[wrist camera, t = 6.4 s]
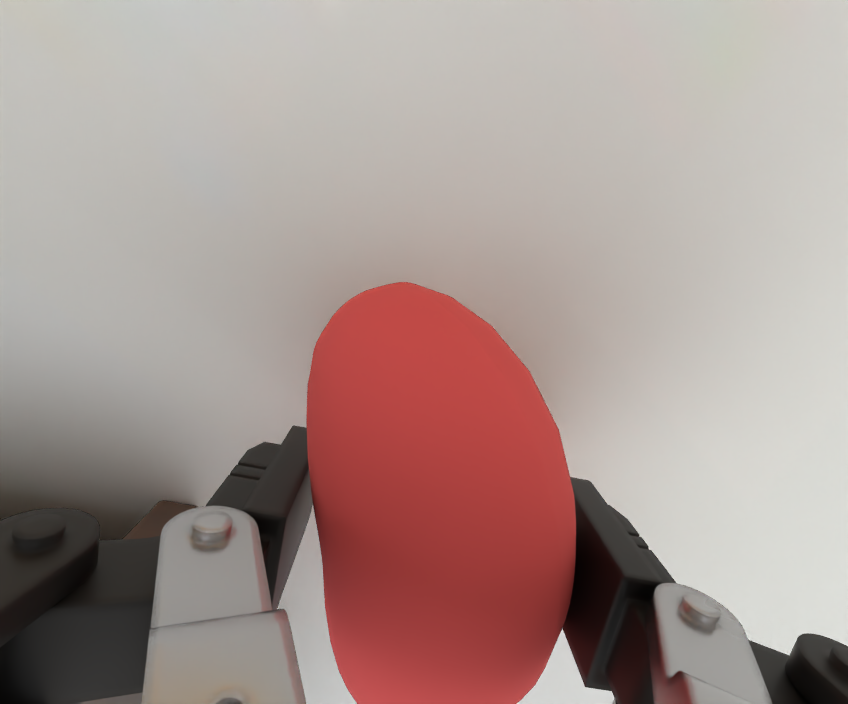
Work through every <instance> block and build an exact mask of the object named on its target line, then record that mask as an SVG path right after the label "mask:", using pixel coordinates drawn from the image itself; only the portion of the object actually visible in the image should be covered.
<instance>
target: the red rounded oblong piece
mask: <svg viewBox="0 0 848 704" xmlns="http://www.w3.org/2000/svg"><path fill="white" fill-rule="evenodd" d="M307 450H308V465H309V475H310V484H311V494H312V500H313V506H314V512H315V518H316V524H317V530H318V535H319V541H320V547H321V554H322V563H323V578H324V597H325V609H326V615H327V622H328V628H329V635H330V641H331V645H332V649H333V652H334V655H335V659H336V662H337V666H338V669H339V672H340V674H341V676H342V678H343V681H344V683H345V685H346V687H347V689H348V691H349V692H350V693H351V695H352V696H353V698H354V699H355V701H356V702H357V704H516V703H518V702H519V701H520V700H521V699H522V698H523V697H524V696H525V695H526V694H527V693H528V692H529V691H530V690H531V689H532V688H533V687H534V686H535V684H536V683H537V681H538V679H539V677H540V676H541V674H542V672H543V670H544V669H545V667H546V664H547V662H548V660H549V657H550V655H551V653H552V650H553V648H554V646H555V643H556V641H557V639H558V636H559V634H560V632H561V630H562V627H563V625H564V622H565V619H566V616H567V612H568V609H569V605H570V600H571V595H572V589H573V583H574V573H575V559H576V513H575V500H574V492H573V488H572V484H571V480H570V475H569V471H568V467H567V463H566V459H565V454H564V450H563V446H562V442H561V437H560V433H559V429H558V427H557V425H556V423H555V421H554V419H553V417H552V415H551V413H550V411H549V409H548V407H547V405H546V404H545V402H544V400H543V398H542V396H541V394H540V392H539V390H538V388H537V386H536V384H535V382H534V380H533V378H532V376H531V374H530V372H529V370H528V369H527V368H526V367H525V365H524V364H523V363H522V362H521V361H520V359H519V358H518V357H517V356H516V355H515V353H514V352H513V351H512V350H511V349H510V347H509V346H508V345H507V344H506V343H505V341H504V340H503V339H502V338H501V337H500V335H499V334H498V333H497V332H496V331H495V329H494V328H493V327H492V326H491V325H490V324H488V323H487V322H485V321H484V320H483V319H481V318H480V317H478V316H477V315H476V314H474V313H473V312H472V311H470V310H469V309H467V308H466V307H465V306H463V305H462V304H460V303H459V302H458V301H456V300H455V299H454V298H452V297H450V296H447V295H445V294H442V293H439V292H436V291H433V290H430V289H427V288H425V287H422V286H419V285H416V284H413V283H408V282H398V283H393V284H388V285H384V286H380V287H376V288H372V289H369V290H366V291H364V292H362V293H360V294H358V295H356V296H355V297H353V298H351V299H350V300H349V301H347V302H346V303H345V304H344V305H343V306H342V307H340V308H339V309H338V310H337V312H336V313H335V314H334V315H333V316H332V318H331V319H330V321H329V322H328V324H327V325H326V327H325V329H324V330H323V332H322V333H321V335H320V337H319V339H318V341H317V342H316V345H315V348H314V352H313V358H312V365H311V371H310V376H309V381H308V392H307Z"/></svg>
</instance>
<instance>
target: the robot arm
mask: <svg viewBox="0 0 848 704" xmlns="http://www.w3.org/2000/svg"><path fill="white" fill-rule="evenodd" d="M570 480H571V484H572V488H573V492H574V500H575V513H576V559H575V573H574V583H573V589H572V595H571V600H570V605H569V609H568V612H567V616H566V619H565V622H564V625H563V627H562V628H563V630H564V633H565V636H566V638H567V641H568V643H569V646H570V649H571V651H572V654H573V656H574V659H575V662H576V664H577V667H578V669H579V672H580V674H581V677H582V680H583V682H584V685H585V687H588V688H595V689H602V690H608V691H612V692H613V695H614V697H615V698H614V701H613V703H612V704H848V646H846V645H844V644H842V643H839V642H837V641H835V640H832V639H830V638H827V637H824V636H821V635H816V634H802V635H800V636H799V637H798V638H797V641H796V643H795V645H794V647H793V649H792V651H791V653H790V656H789V655H786V654H784V653H781V652H778V651H776V650H773V649H771V648H768V647H765V646H763V645H760V644H757V643H755V642H752V641H750V640H748V638H747V636H746V633H745V631H744V629H743V627H742V625H741V624H740V622H739V621H738V620H737V618H736V617H735V616H734V615H733V614H732V613H731V612H730V611H729V610H728V609H726V608H725V607H724V606H723V605H721V604H720V603H718V602H717V601H716V600H714V599H713V598H711V597H709V596H708V595H706V594H704V593H702V592H700V591H698V590H695V589H693V588H691V587H688V586H685V585H681V584H677V583H676V582H675V581H674V579H673V578H672V577H671V575H670V574H669V573H668V572H667V570H666V569H665V568H664V566H663V565H662V564H661V562H660V561H659V560H658V558H657V557H656V556H655V555H654V553H653V552H652V551H651V550H649V549H648V545H647V544H646V543H645V541H644V540H643V539H642V538H641V537H639V534H638V532H637V531H636V530H635V528H634V527H633V526H632V524H631V523H630V522H629V521H628V519H626V518H625V517H624V516H623V515H621V514H620V513H619V512H618V511H616V510H615V509H614V508H612V507H611V506H610V505H607V503H606V502H605V501H604V499H603V498H602V496H601V495H600V494H599V492H598V491H597V490H596V488H595V487H594V485H593V484H592V483H591V482H590V481H588V480H583V479H577V478H572V477H570ZM312 505H313V500H312V494H311V484H310V475H309V465H308V450H307V428H305V427H299V426H294V425H293V426H292V428H291V429H290V431H289V433H288V434H287V436H286V438H285V439H284V441H283V442H282V444H281V445H279V444H273V443H268V442H263V443H261V444H259V445H257V446H255V447H253V448H251V449H249V450H247V452H246V453H245V454H244V456H243V457H242V458H241V460H240V461H239V462H238V465H236V466H235V467H234V469H233V470H232V471H231V473H230V475H228V477H227V478H226V479H225V481H224V482H223V483H222V485H221V486H220V487H219V489H218V490H217V491H216V492H215V494H214V495H213V496H212V498H211V499H210V500H209V502H208V503H207V504H206V506H204V507H198V508H193V509H190V510H187V511H184V512H182V513H180V514H178V515H176V516H174V517H173V518H172V519H170V520H169V521H168V522H167V523H166V524H165V526H164V527H163V529H162V532H161V535H160V536H156V537H150V538H140V539H121V540H99V538H100V525H99V523H98V521H97V520H96V519H95V518H94V517H93V516H91V515H90V514H88V513H85V512H83V511H79V510H75V509H68V508H47V509H39V510H33V511H28V512H24V513H20V514H17V515H14V516H11V517H8V518H6V519H3V520H1V521H0V704H81V703H82V702H86V701H92V700H98V699H105V698H111V697H117V696H124V695H130V694H136V693H143V695H142V704H306V700H305V695H304V690H303V686H302V681H301V676H300V671H299V666H298V662H297V657H296V652H295V647H294V643H293V638H292V633H291V628H290V623H289V619H288V616H287V613H286V611H285V610H284V609H277V607H278V604H279V601H280V598H281V595H282V593H283V590H284V587H285V584H286V581H287V579H288V576H289V573H290V570H291V567H292V565H293V562H294V559H295V556H296V553H297V551H298V548H299V545H300V542H301V539H302V537H303V534H304V531H305V528H306V526H307V523H308V520H309V516H310V513H311V509H312Z"/></svg>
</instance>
